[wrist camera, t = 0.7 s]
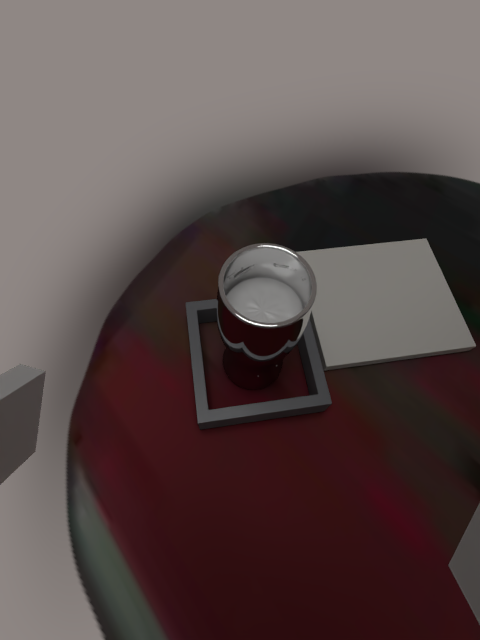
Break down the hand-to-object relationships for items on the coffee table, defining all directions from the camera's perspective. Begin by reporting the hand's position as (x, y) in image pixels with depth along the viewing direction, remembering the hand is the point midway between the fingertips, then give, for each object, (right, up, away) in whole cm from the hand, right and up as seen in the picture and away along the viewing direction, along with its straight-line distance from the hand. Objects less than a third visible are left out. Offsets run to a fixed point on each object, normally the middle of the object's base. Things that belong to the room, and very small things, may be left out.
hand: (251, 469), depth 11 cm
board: (+15, +6, +31) cm, 35 cm away
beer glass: (+1, 0, +27) cm, 27 cm away
